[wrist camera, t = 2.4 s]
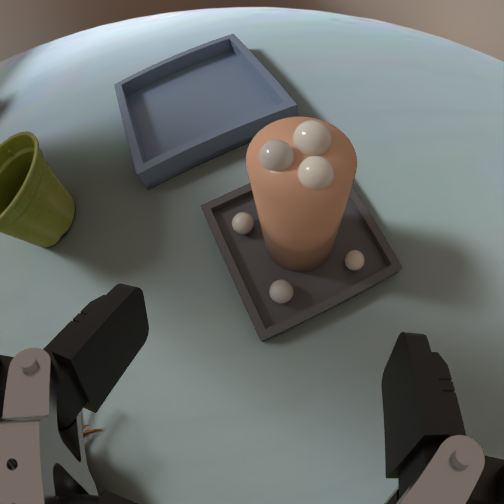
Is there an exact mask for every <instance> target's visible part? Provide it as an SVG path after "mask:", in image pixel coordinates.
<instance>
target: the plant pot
mask: <svg viewBox="0 0 504 504" xmlns="http://www.w3.org/2000/svg"><path fill="white" fill-rule="evenodd" d="M74 213H75V203H74V200H73V198H72V196H71V195H70V194H69V192H68V191H67V190H66V188H65V187H64V186H63V185H62V183H61V182H60V181H59V179H58V178H57V177H56V175H55V174H54V173H53V171H52V170H51V169H50V167H49V166H48V164H47V163H46V162H45V160H44V158H43V154H42V152H41V150H40V149H39V143H38V140H37V138H36V136H35V135H34V134H33V133H31V132H21V133H18V134H15V135H13V136H11V137H10V138H8V139H7V140H5V141H4V142H3V143H2V144H1V145H0V232H2V233H5V234H7V235H10V236H13V237H16V238H19V239H21V240H24V241H27V242H29V243H32V244H35V245H37V246H40V247H49V246H52V245H54V244H56V243H57V242H58V241H59V239H60V238H61V236H62V235H63V234H64V233H65V232H66V231H68V229H69V228H70V226H71V224H72V221H73V218H74Z"/></svg>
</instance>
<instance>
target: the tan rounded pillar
mask: <svg viewBox="0 0 504 504" xmlns="http://www.w3.org/2000/svg"><path fill="white" fill-rule="evenodd" d="M246 167H247V171H248V175H249V179H250V183H251V187H252V191H253V196H254V200H255V204H256V208H257V212H258V217H259V221H260V225H261V229H262V233H263V238H264V242H265V246H266V250H267V252H268V254H269V256H270V257H271V259H272V260H273V261H274V262H275V263H276V264H277V265H279V266H280V267H282V268H284V269H286V270H289V271H294V272H305V271H309V270H312V269H315V268H317V267H318V266H320V265H321V264H323V263H324V262H325V261H326V259H327V258H328V257H329V255H330V253H331V250H332V248H333V245H334V242H335V238H336V235H337V232H338V229H339V226H340V223H341V220H342V217H343V213H344V210H345V207H346V204H347V200H348V197H349V194H350V191H351V187H352V184H353V180H354V177H355V173H356V168H357V158H356V153H355V150H354V147H353V145H352V143H351V142H350V140H349V139H348V138H347V137H346V135H345V134H344V133H343V132H341V131H340V130H339V129H338V128H336V127H335V126H333V125H331V124H329V123H327V122H325V121H323V120H319V119H316V118H311V117H289V118H284V119H280V120H277V121H275V122H273V123H270V124H269V125H267V126H265V127H264V128H263V129H261V130H260V131H259V132H258V133H257V134H256V135H255V136H254V138H253V139H252V141H251V143H250V144H249V147H248V149H247V154H246Z"/></svg>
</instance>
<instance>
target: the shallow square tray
mask: <svg viewBox="0 0 504 504" xmlns="http://www.w3.org/2000/svg"><path fill="white" fill-rule="evenodd" d="M114 86H115V90H116V95H117V99H118V104H119V108H120V112H121V116H122V121H123V125H124V129H125V133H126V137H127V141H128V144H129V148H130V152H131V156H132V159H133V163H134V167H135V170H136V174H137V176H138V177H139V178H140V180H141V181H142V182H143V183H144V185H145V186H146V187H147V188H148V189H150V188H152V187H154V186H156V185H158V184H160V183H162V182H164V181H166V180H168V179H170V178H172V177H174V176H176V175H178V174H180V173H182V172H185V171H187V170H189V169H191V168H193V167H195V166H197V165H199V164H202V163H204V162H206V161H208V160H210V159H212V158H215V157H217V156H219V155H221V154H224V153H226V152H228V151H230V150H233V149H235V148H237V147H240V146H242V145H244V144H247V143H249V142H251V141H252V139H253V138H254V136H255V135H256V134H257V133H258V132H259V131H260V130H261V129H263V128H264V127H265V126H267V125H269V124H270V123H273V122H275V121H277V120H280V119H284V118H289V117H297V104H296V103H295V102H294V100H293V99H292V98H291V97H290V96H289V94H288V93H287V92H286V91H285V90H284V88H283V87H282V86H281V85H280V84H279V83H278V81H277V80H276V79H275V78H274V77H273V76H272V75H271V73H270V72H269V71H268V70H267V69H266V68H265V67H264V66H263V65H262V63H261V62H260V61H259V60H258V59H257V58H256V57H255V56H254V55H253V54H252V53H251V52H250V50H249V49H248V48H247V47H246V46H245V45H244V44H243V43H242V42H241V41H240V40H239V39H238V38H237V37H236V36H235V35H234V34H231V35H228V36H225V37H222V38H219V39H216V40H213V41H211V42H208V43H205V44H202V45H200V46H197V47H195V48H192V49H189V50H187V51H185V52H182V53H180V54H177V55H175V56H173V57H170V58H168V59H166V60H163V61H161V62H159V63H157V64H155V65H152V66H150V67H148V68H146V69H144V70H142V71H140V72H138V73H136V74H134V75H132V76H130V77H128V78H126V79H124V80H122V81H120V82H118V83H116V84H115V85H114Z"/></svg>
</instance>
